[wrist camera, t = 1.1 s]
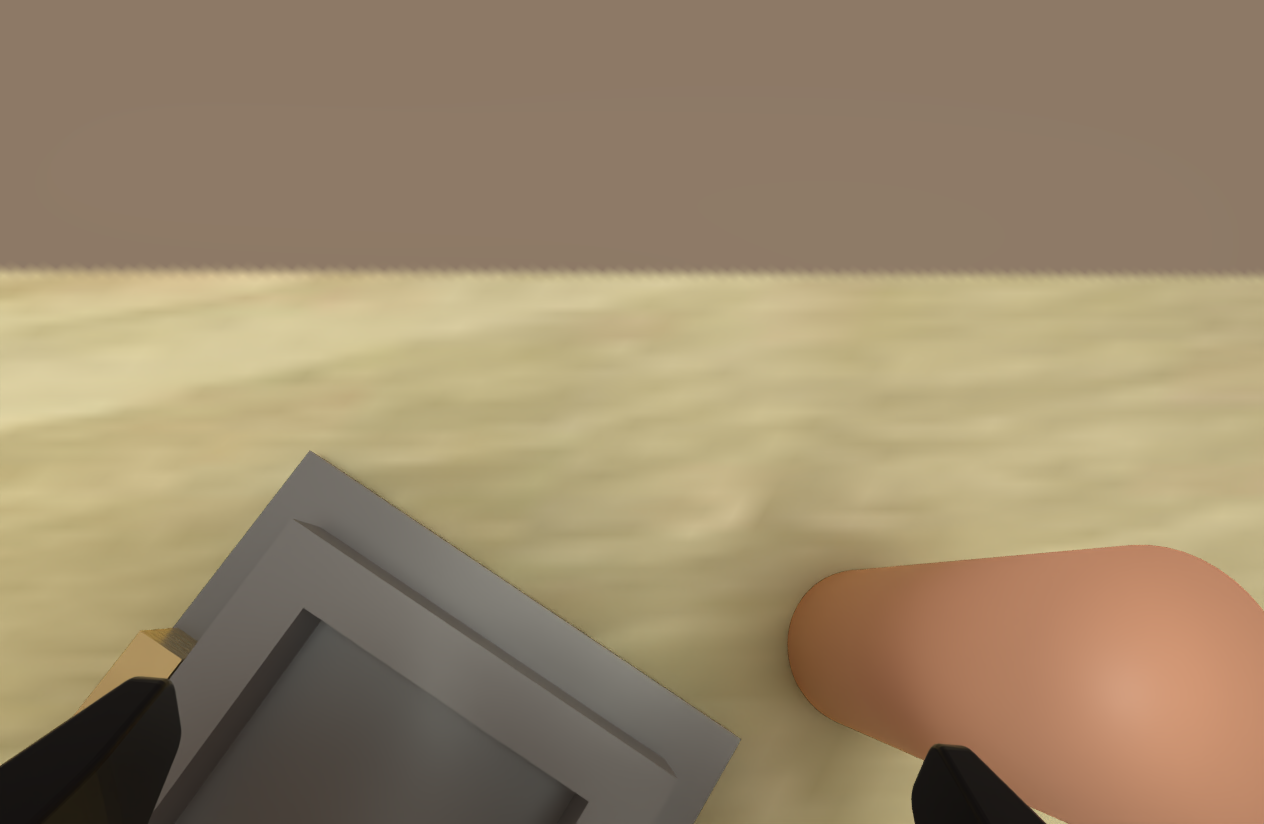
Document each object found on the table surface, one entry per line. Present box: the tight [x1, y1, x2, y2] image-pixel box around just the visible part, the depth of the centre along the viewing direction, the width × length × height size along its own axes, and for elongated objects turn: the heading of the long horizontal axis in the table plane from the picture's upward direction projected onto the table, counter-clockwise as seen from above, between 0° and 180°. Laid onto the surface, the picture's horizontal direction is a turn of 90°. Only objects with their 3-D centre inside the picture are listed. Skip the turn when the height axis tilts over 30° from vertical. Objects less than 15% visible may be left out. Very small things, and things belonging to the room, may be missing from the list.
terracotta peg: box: [788, 545, 1264, 824], centre depth 18 cm, size 4×4×12 cm
